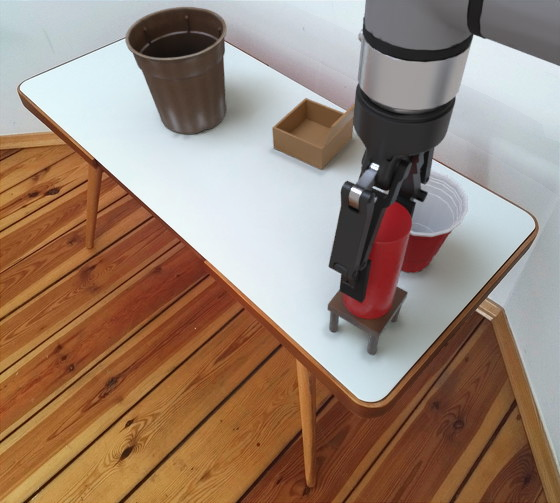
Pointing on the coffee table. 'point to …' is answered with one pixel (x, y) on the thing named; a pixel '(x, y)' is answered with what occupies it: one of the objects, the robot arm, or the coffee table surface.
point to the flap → (339, 124)
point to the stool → (367, 325)
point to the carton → (311, 133)
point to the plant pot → (182, 65)
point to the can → (384, 264)
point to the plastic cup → (434, 220)
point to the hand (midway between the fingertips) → (373, 265)
